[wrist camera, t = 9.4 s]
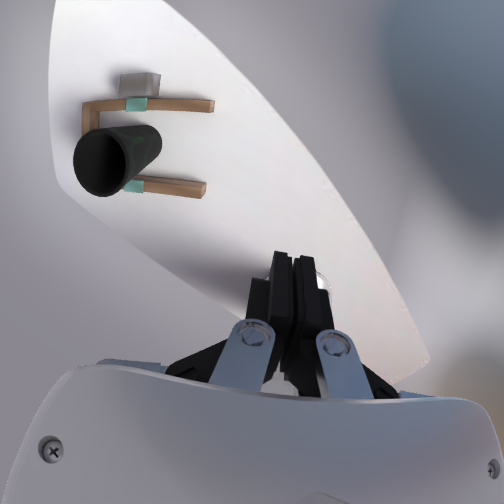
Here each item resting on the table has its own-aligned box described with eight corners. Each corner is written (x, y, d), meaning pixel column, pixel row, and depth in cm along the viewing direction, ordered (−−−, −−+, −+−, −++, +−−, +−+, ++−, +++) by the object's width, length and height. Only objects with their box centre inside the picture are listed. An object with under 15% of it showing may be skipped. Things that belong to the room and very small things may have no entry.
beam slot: (205, 194, 39) (197, 203, 36) (92, 181, 39) (78, 189, 36) (218, 76, 31) (210, 73, 27) (94, 80, 31) (78, 80, 27)
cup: (118, 162, 37) (70, 188, 27) (127, 114, 34) (76, 124, 23) (163, 174, 38) (124, 204, 28) (174, 123, 34) (134, 135, 24)
